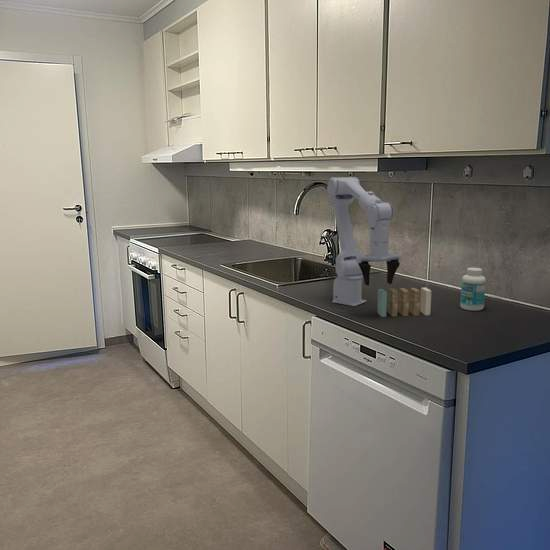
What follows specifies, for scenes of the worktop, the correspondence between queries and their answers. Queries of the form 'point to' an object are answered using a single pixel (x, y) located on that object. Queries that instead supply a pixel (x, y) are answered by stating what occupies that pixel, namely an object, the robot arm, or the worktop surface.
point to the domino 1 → (382, 302)
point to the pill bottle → (473, 290)
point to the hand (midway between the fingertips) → (378, 284)
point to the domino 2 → (393, 302)
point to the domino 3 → (404, 302)
